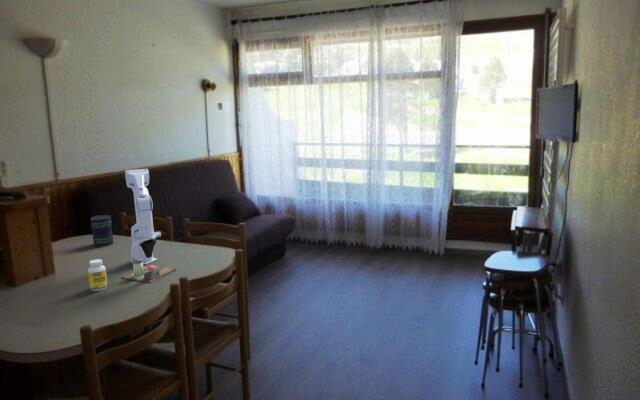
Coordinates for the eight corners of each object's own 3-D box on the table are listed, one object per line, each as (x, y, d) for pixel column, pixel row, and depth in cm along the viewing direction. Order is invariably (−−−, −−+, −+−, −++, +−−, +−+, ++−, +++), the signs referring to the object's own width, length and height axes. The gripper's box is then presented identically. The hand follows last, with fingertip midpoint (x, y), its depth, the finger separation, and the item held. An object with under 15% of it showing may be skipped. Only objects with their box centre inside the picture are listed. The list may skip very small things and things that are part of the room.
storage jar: (108, 246, 246) (105, 219, 243) (90, 247, 246) (86, 219, 243) (116, 241, 256) (113, 214, 253) (99, 241, 256) (95, 215, 253)
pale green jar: (139, 277, 199) (137, 261, 198) (132, 276, 201) (130, 260, 199) (146, 274, 203) (144, 258, 201) (138, 272, 204) (137, 257, 203)
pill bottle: (90, 292, 185) (86, 264, 183) (89, 287, 191) (86, 260, 189) (108, 289, 188) (105, 262, 186) (107, 284, 194) (104, 257, 192)
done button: (145, 270, 198) (145, 267, 197) (150, 268, 200) (150, 264, 200) (151, 271, 196) (151, 268, 196) (156, 269, 199) (156, 265, 199)
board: (121, 278, 200) (120, 271, 200) (148, 266, 215) (147, 259, 214) (151, 282, 194) (150, 275, 194) (176, 270, 209) (175, 263, 208)
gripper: (140, 231, 187) (143, 263, 189) (165, 222, 200) (168, 253, 202) (127, 229, 189) (130, 261, 192) (152, 221, 202) (155, 251, 205)
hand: (148, 257), depth 197 cm, fingers closed
